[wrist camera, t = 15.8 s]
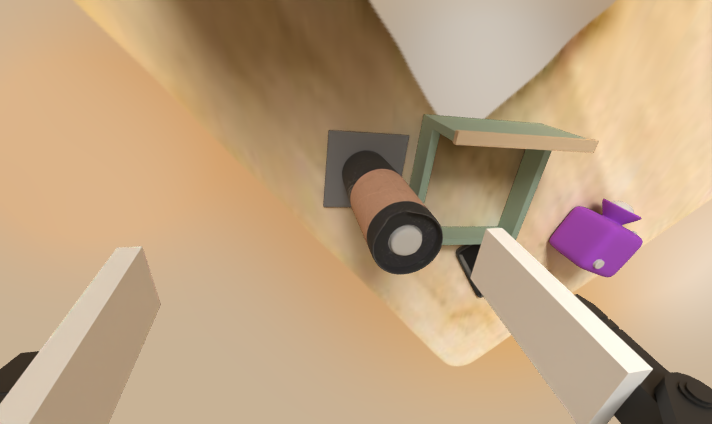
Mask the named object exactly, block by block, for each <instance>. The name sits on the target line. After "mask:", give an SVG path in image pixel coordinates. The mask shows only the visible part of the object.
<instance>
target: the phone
mask: <svg viewBox="0 0 712 424" xmlns="http://www.w3.org/2000/svg"><path fill="white" fill-rule="evenodd" d="M480 246H481V244H471V245H463V246H461V247H459V248H458V249H457V250H456V256H457V258H458V260H459V262H460V264H461V266H462V268H463V270H464V272H465V274H466V276H467V278H468V280H469V281H470V283H471V285H472V287H473V289H474V291H475V293H476V295H477V296H478V297H480V298H481V297H484V296H483V295H482V294H481V292H480V291H479V290H478V288H477V287H476V285H475V284H474V283H473V281H472V280H471V279H470V277H471V274H472V271H473V268H474V265H475V262H476V259H477V255H478V252H479V249H480Z"/></svg>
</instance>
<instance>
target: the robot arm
mask: <svg viewBox="0 0 712 424" xmlns="http://www.w3.org/2000/svg"><path fill="white" fill-rule="evenodd" d="M470 279H471V280H472V281H473V283H474V284H475V285H476V287H477V288H478V290H479V291H480V292H481V294H482V295H483V296H484V298H485V299H486V301H487V302H488V303H489V305H490V306H491V307H492V309H493V310H494V311H495V313H496V314H497V316H498V317H499V318H500V320H501V321H502V322H503V324H504V325H505V327H506V328H507V329H508V331H509V332H510V333H511V335H512V336H513V337H514V339H515V340H516V342H517V343H518V344H519V346H520V347H521V348H522V350H523V351H524V353H525V354H526V355H527V356H528V358H529V359H530V361H531V362H532V363H533V365H534V366H535V368H536V369H537V370H538V372H539V373H540V374H541V375H542V377H543V378H544V380H545V381H546V383H547V384H548V385H549V386H550V388H551V389H552V391H553V392H554V394H555V395H556V396H557V398H558V399H559V400H560V402H561V403H562V404H563V406H564V407H565V409H566V410H567V411H568V413H569V414H570V415H571V417H572V418H573V419H574V421H575V422H576V424H607V423H608V422H609V420H610V419H611V418H612V417H613V416H615V417H616V418H617V419H618V420H619V422H620V423H621V424H712V389H711V388H710V387H708V386H707V385H705V384H704V383H702V382H701V381H699V380H697V379H695V378H692V377H691V376H688V375H685V374H681V373H678V372H676V373H670V372H669V371H667V370H666V369H665V368H664V367H663V366H661V365H660V364H659V363H658V362H657V361H656V360H655V359H654V358H653V357H651V356H650V355H649V354H648V353H647V352H646V351H645V350H643V348H641V347H640V346H639V345H638V344H637V343H636V342H635V341H634V340H632V338H631V337H629V336H628V335H627V334H626V333H625V332H624V331H623V330H620V329H619V327H618V326H617V325H616V324H615V323H614V322H613V321H612V320H611V319H608V317H607V316H606V315H605V314H604V313H603V312H602V311H601V310H600V309H598V308H597V307H596V306H595V305H594V304H592V303H591V302H589V301H587V300H586V299H584V298H583V297H581V296H579V295H578V294H576V295H573V294H572V293H571V292H570V291H569V290H568V289H567V288H566V287H565V286H564V285H563V284H562V283H561V282H560V281H558V280H557V279H556V278H555V277H554V276H553V275H552V274H551V273H550V272H549V271H548V270H547V269H546V268H545V267H544V266H542V265H541V264H540V263H539V262H538V261H537V260H536V259H535V258H534V257H533V256H532V255H531V254H530V253H529V252H528V251H526V250H525V249H524V248H523V247H522V246H521V245H520V244H519V243H518V242H517V241H516V240H515V239H514V238H513V237H511V236H510V235H509V234H508V233H507V232H506V231H505V230H504V229H503V228H488V229H486V230H485V234H484V237H483V240H482V243H481V246H480V249H479V252H478V255H477V259H476V262H475V265H474V268H473V271H472V274H471V277H470ZM160 305H161V303H160V300H159V297H158V294H157V291H156V288H155V285H154V282H153V279H152V276H151V273H150V269H149V266H148V263H147V260H146V257H145V254H144V251H143V248H142V246H141V247H121V248H116V250H115V251H114V252H113V254H112V255H111V257H110V258H109V259H108V260H107V262H106V263H105V264H104V266H103V267H102V268H101V270H100V271H99V273H98V274H97V275H96V277H95V278H94V279H93V280H92V282H91V283H90V284H89V286H88V287H87V288H86V290H85V291H84V293H83V294H82V295H81V297H80V298H79V299H78V300H77V302H76V303H75V304H74V306H73V307H72V309H71V310H70V311H69V313H68V314H67V316H66V317H65V318H64V319H63V321H62V322H61V323H60V325H59V326H58V327H57V329H56V330H55V331H54V333H53V334H52V335H51V337H50V338H49V340H48V341H47V342H46V343H45V345H44V346H43V347H42V349H41V350H40V351H37V352H27V353H20V354H19V355H18V356H17V357H15V358H14V359H13V360H11V361H10V362H9V363H8V364H6V365H5V366H4V367H3V368H1V369H0V424H109V422H110V419H111V417H112V415H113V412H114V410H115V408H116V406H117V403H118V401H119V399H120V397H121V394H122V392H123V390H124V387H125V385H126V383H127V381H128V378H129V376H130V374H131V371H132V369H133V367H134V365H135V362H136V360H137V358H138V356H139V353H140V351H141V349H142V346H143V344H144V342H145V340H146V337H147V335H148V333H149V331H150V328H151V326H152V324H153V321H154V319H155V317H156V315H157V312H158V310H159V308H160Z"/></svg>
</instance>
